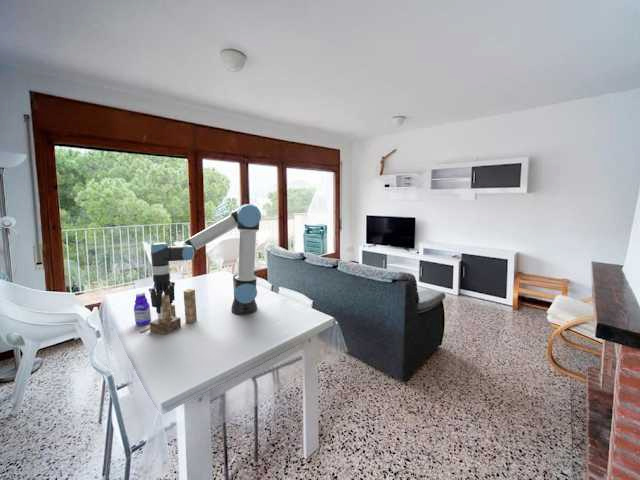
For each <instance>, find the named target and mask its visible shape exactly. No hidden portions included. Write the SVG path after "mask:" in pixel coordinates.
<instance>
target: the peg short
mask: <svg viewBox="0 0 640 480" xmlns="http://www.w3.org/2000/svg"><path fill="white" fill-rule="evenodd" d="M171 306H172V308H171V316H173V317H177V314H176V305H175V304H173V303H171Z"/></svg>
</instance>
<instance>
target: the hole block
mask: <svg viewBox="0 0 640 480" xmlns="http://www.w3.org/2000/svg"><path fill="white" fill-rule="evenodd" d="M149 327H150V332H151V333H153V334H154V333H155V334H158V335H163V336H165V335H168V334H170V333H172V332H174V331H176V330H177V329H179V328H182V322H181V317H177V316H176V317H173V316H171V320H170V321H168V322H166V323H162V322H159V319H158V318H157V319H154V320H151V321H150V323H149Z"/></svg>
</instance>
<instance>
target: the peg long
mask: <svg viewBox="0 0 640 480" xmlns="http://www.w3.org/2000/svg"><path fill="white" fill-rule="evenodd" d="M183 299H184V300H183V303H184V315H185V323H186V324H193V323H196V322H198V317H197V302H196V300H197V299H196V289H193V288H192V289H191V288H188V289H186V290H183Z"/></svg>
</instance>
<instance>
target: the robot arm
mask: <svg viewBox="0 0 640 480" xmlns="http://www.w3.org/2000/svg"><path fill="white" fill-rule="evenodd" d="M261 220H262V213H261V210H260V209H259V208H258V206H256V205H254V204H252V203H243V204H242V205H240V206H239V207H237V208H236V209H235V210H234V211H232V212H230V213H229V215H228V216H227V217H224V218H223V219H220V221H218V222H216V223H213V224H212V225H211V226H209V227H207V228H205V229H203V230H202V231H200V232H198V233H196V234H194V235H193V236H192V237H189V238H188V239H186V240H184V241H181V242H179V244H178V245H175V246H173V245H172V246H170V245H169V244H168V243H167V242H155V243H152V244H151V245H150V256H151V257H150V258H151V268H152V270H151V271H152V279H153V283H154V284H153V287H152V288H148V291H149V293H150V300H151V307H153V308H155V310H156V314H157V319H163V309H162V307H161V300H162V299H161V297H162V295H163V294H165V295H169V300H170V313H171V308H172V306H171V304H173V303H174V302H175V284H176V283H175V282H174V281H170V280H171V274H170V262H175V261H176V262H177V261H179V262H180V261H182V262H183V261H185V262H186V261H190V260H191V261H192V260H194V258H195V252H196V251H197V250H199V249H201V248H202V247H205V246H206V245H207V244H209V243H211V242H213V241H215V240H216V239H218V238H220V237H222V236H223V235H225V234H227V233H229V232H231V231H232V230H234V229H237V230H238V231H239V245H238V248H239V249H238V266H237V267H238V269H237V272H236V273H234V274H233V275H232V280H233V281H232V282H233V284H232V285H233V301H232V305H231V313H233V314H235V315H249V314H252V313H254V312H257V310H258V304H257V301H256V298H257V295H258V289H257V276H256V275H255V260H256V245H257V243H256V240H257V232H258V231H259V230H260V222H261ZM173 301H174V302H173Z"/></svg>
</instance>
